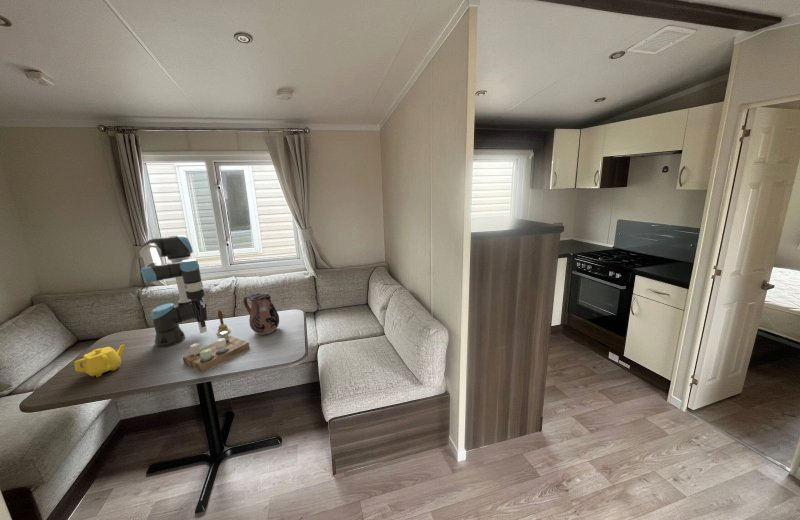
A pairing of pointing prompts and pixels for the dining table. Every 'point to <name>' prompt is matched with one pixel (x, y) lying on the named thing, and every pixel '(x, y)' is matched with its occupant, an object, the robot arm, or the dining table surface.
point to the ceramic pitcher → (262, 313)
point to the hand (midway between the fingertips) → (203, 331)
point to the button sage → (206, 354)
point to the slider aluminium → (224, 335)
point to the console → (216, 354)
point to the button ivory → (220, 343)
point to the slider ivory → (195, 349)
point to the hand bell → (222, 324)
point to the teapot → (100, 361)
